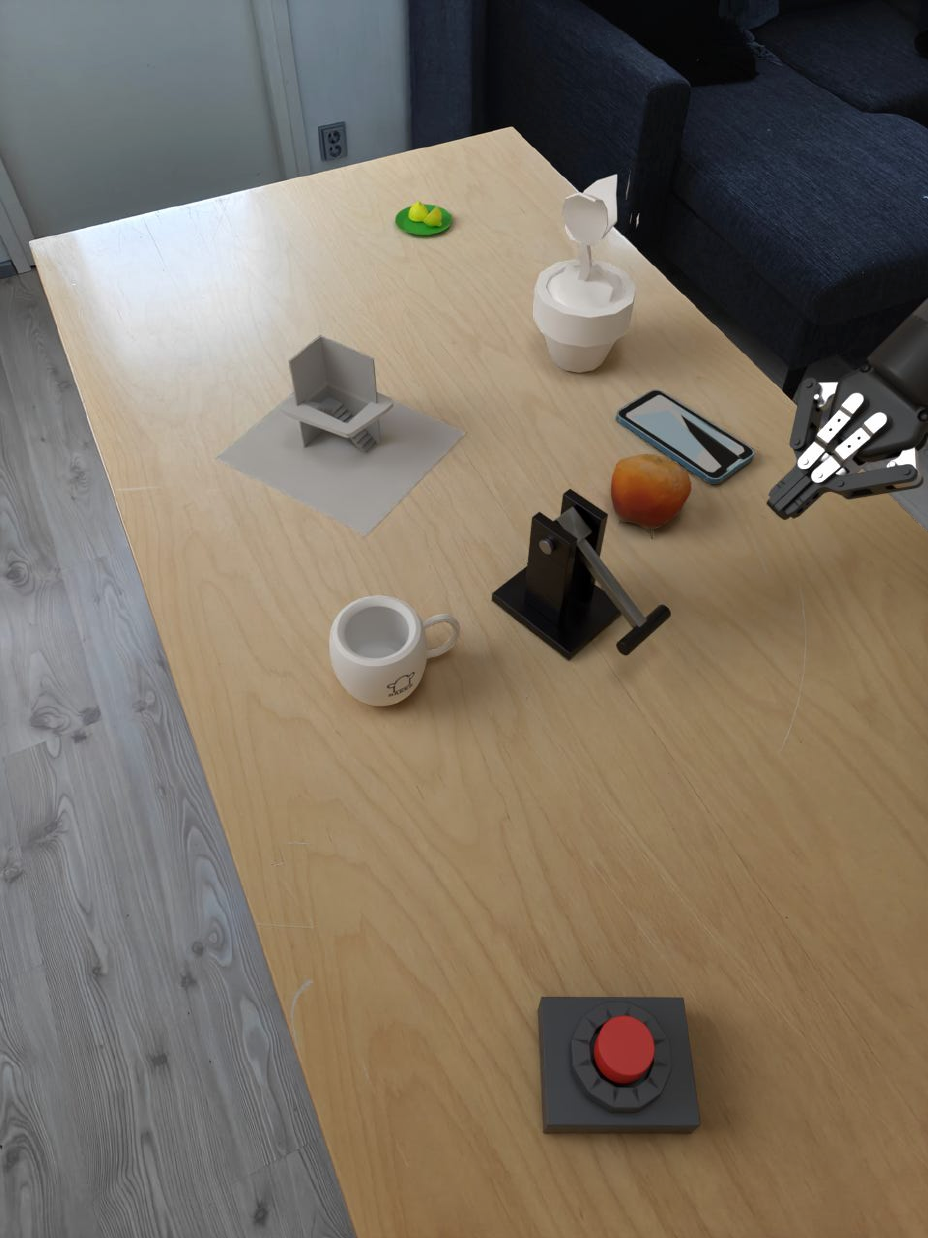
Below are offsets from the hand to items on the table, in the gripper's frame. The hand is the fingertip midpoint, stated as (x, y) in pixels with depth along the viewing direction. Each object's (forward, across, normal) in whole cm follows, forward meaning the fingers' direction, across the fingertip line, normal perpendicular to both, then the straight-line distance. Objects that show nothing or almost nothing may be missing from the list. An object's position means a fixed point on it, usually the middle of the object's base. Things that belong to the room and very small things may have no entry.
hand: (775, 512), depth 76 cm
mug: (+33, -9, -10) cm, 35 cm away
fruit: (+11, -16, +12) cm, 23 cm away
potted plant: (+5, -42, +18) cm, 46 cm away
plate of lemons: (+8, -77, +15) cm, 79 cm away
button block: (+33, +28, -11) cm, 44 cm away
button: (+30, +28, -14) cm, 43 cm away
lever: (+15, -6, -3) cm, 16 cm away
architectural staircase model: (+28, -40, -5) cm, 49 cm away
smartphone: (+3, -24, +19) cm, 31 cm away
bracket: (+21, -10, +2) cm, 23 cm away
